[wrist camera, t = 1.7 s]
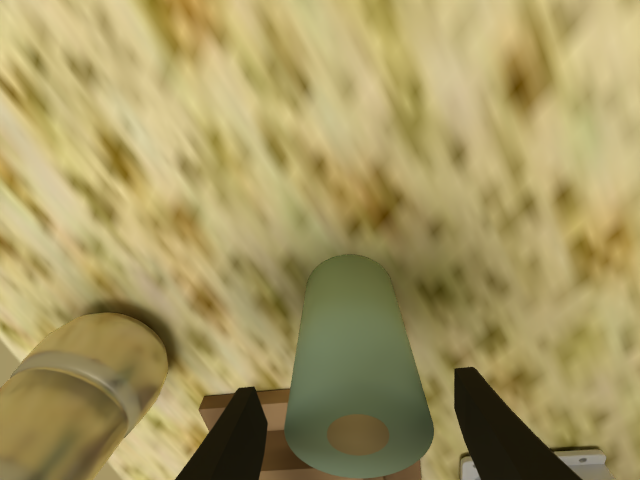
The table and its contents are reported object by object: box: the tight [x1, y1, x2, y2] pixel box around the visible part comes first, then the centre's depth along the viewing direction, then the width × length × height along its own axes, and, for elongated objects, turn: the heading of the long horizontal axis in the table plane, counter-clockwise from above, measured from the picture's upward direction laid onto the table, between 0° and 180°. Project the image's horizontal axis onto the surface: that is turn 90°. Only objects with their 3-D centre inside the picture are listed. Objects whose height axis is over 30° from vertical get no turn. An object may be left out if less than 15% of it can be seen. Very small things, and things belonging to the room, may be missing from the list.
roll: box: [284, 255, 434, 478], centre depth 14 cm, size 5×5×8 cm
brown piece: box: [199, 389, 421, 480], centre depth 22 cm, size 14×14×4 cm
